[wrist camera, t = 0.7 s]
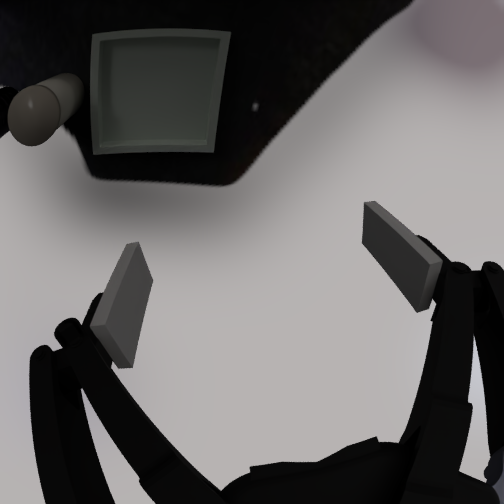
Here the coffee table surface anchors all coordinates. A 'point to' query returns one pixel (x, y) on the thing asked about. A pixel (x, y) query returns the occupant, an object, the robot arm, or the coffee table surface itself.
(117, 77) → the sage tray
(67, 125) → the coffee table surface
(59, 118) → the cream canister
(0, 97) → the supplement bottle
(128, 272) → the robot arm
